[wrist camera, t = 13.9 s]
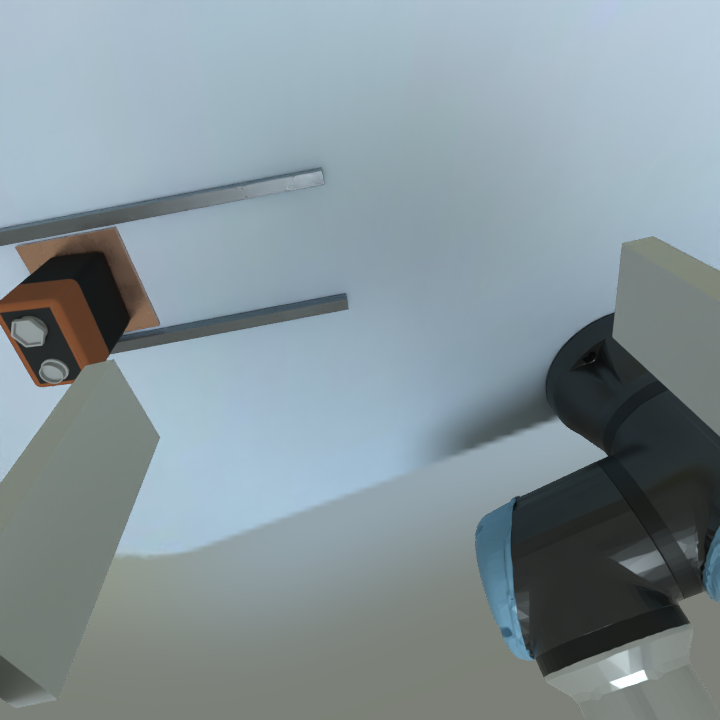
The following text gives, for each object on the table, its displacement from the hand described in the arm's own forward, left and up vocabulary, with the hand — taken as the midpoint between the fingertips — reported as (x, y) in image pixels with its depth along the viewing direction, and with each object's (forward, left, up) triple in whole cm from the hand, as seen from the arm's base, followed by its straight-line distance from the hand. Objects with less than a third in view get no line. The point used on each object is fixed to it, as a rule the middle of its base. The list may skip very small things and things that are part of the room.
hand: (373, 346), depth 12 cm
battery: (-7, +22, -28) cm, 36 cm away
